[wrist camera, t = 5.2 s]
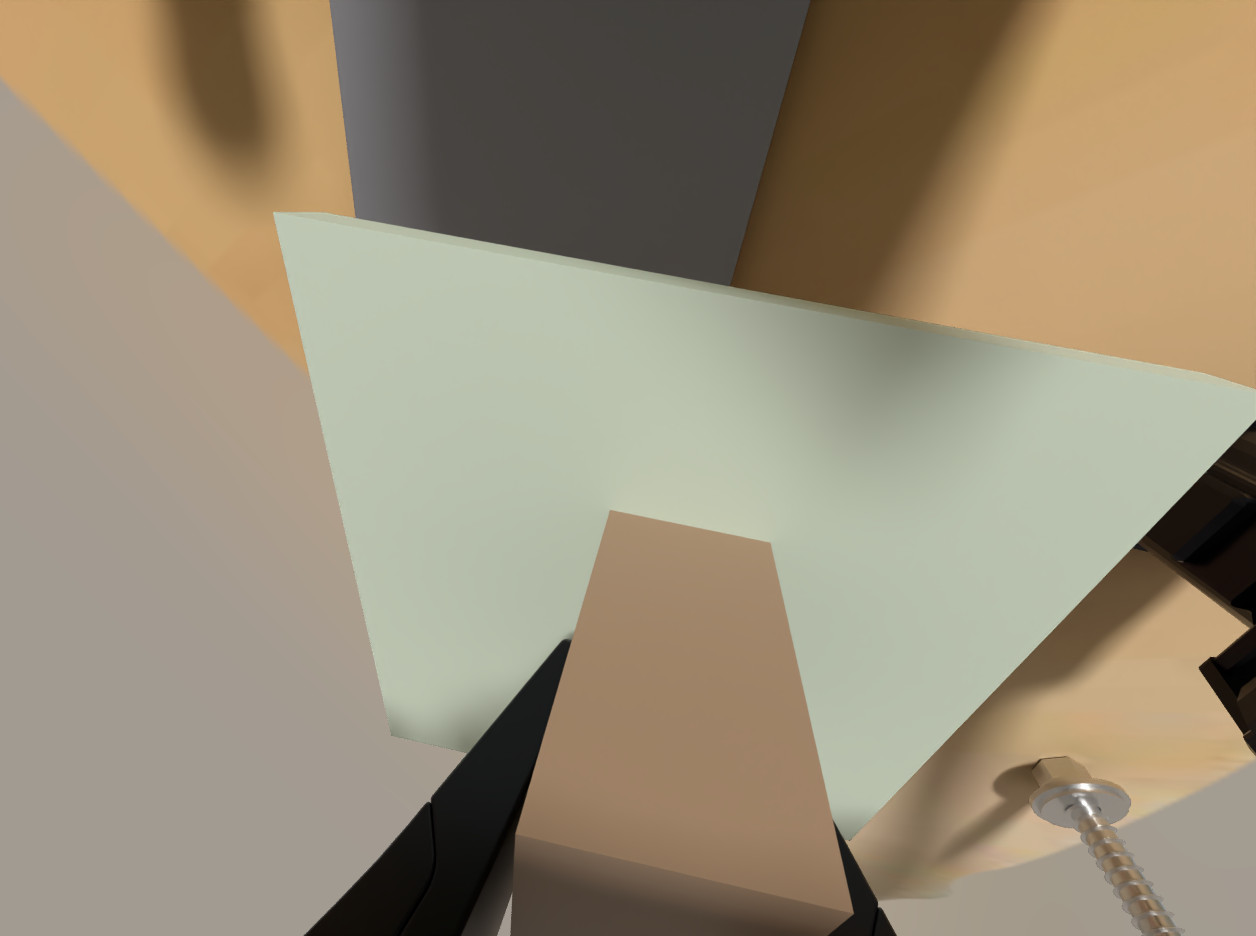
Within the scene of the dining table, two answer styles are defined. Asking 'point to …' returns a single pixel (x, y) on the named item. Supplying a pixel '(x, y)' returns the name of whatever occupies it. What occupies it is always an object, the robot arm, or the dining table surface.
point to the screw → (1100, 836)
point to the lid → (709, 546)
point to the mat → (567, 122)
